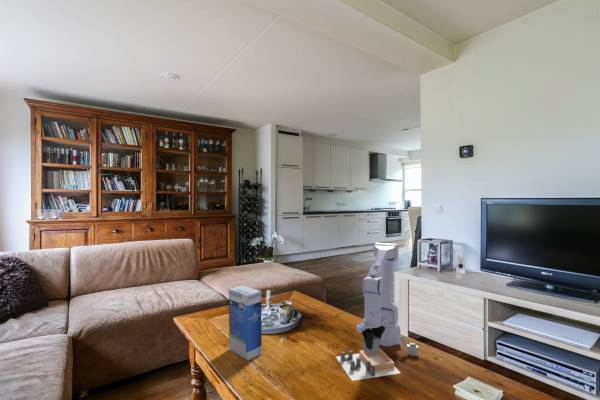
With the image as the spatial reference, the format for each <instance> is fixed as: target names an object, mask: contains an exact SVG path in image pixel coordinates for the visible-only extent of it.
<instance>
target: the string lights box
mask: <svg viewBox="0 0 600 400" xmlns="http://www.w3.org/2000/svg"><path fill="white" fill-rule="evenodd" d="M228 323H229V324H228V326H229V327H228V329H229V330H228V333H229V334H228V337H229V339H228V340H229V341H228V342H229V346H228V347H229V350H230V351H231V352H233V353H235V354H237V355H239V357H241V358H243V359H244V360H247V361H250V360H252V359H254V358H256V357H258V356H260V355H262V353H263V352H262V351H263V350H262V345H263V344H262V343H263V342H262V340H263V339H262V291H261V290H259V289H255V288H252V287H249V286H246V285H242V284H241V285H238V286H235V287H231V288H228Z"/></svg>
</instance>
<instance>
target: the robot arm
mask: <svg viewBox="0 0 600 400" xmlns="http://www.w3.org/2000/svg"><path fill="white" fill-rule="evenodd" d="M399 249H400V248H399V245H398V243H387V242H375V243H374V245H373V249H372V251H373V255H374V257H375V261H374V263H372V264H371V266H370V268H369V271H368V274H367V276H366V277H363V280H362V292H363V298H364V318H363V321H362V322H360V323H359V324H357V325H355V331H356V332H357V333H358V334H362V337H363V341H364V340H365V343H366V347H367V348H368V349H370V350H371V349H372V342H373V337H374V335H375V336H377V337H379V346H382V347H392V346H395V345H401V340H400V337H399V335H402V334H401V326H400V325H399V323H398V321H399V311H398V310H399V308H398V305H397V304H395V302H393V300H392V296H393V295H392V294H393V292H392V291H393V272H394V271H393V269H394V264H396V263H398V260H399Z"/></svg>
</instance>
